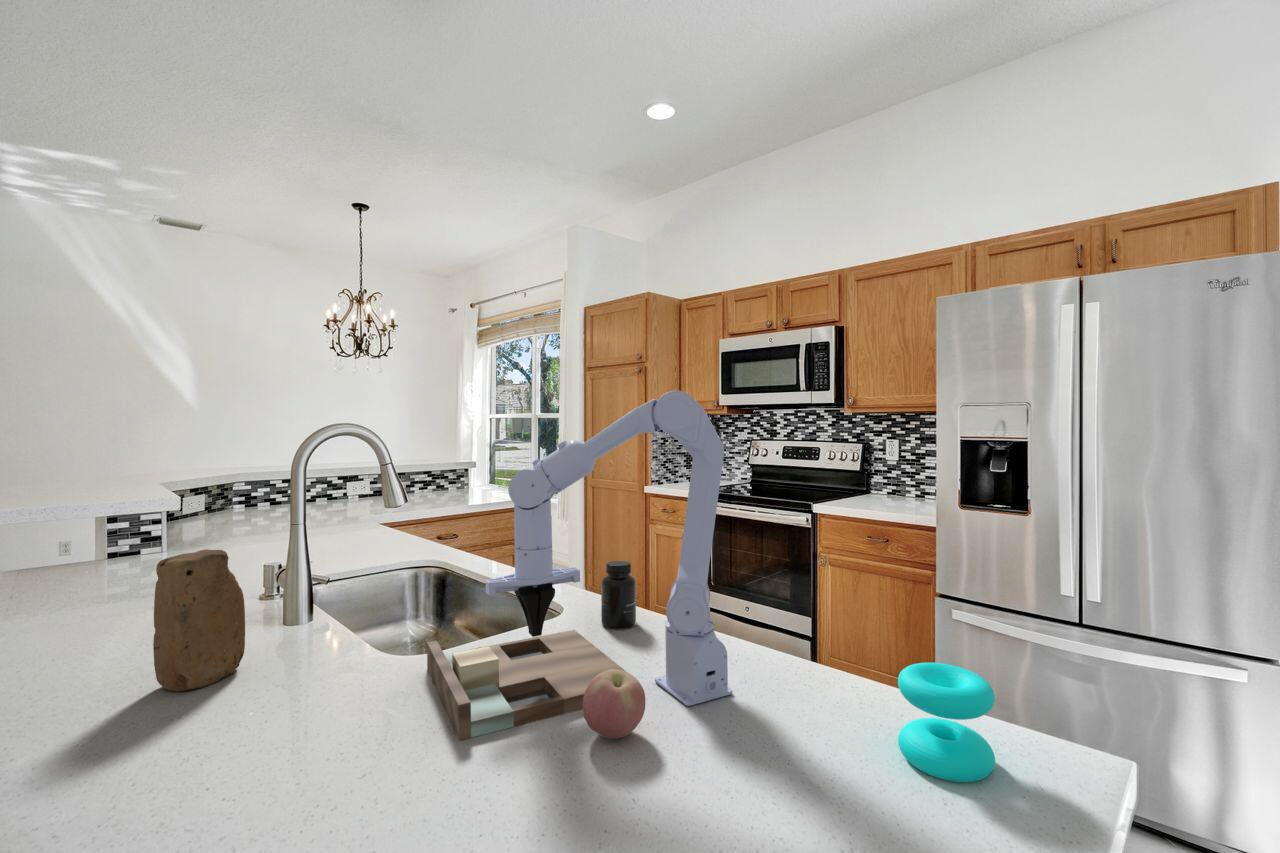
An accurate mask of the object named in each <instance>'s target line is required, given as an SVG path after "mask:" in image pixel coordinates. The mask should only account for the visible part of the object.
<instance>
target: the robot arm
mask: <svg viewBox="0 0 1280 853" xmlns="http://www.w3.org/2000/svg"><path fill="white" fill-rule="evenodd" d="M661 430H662V431H663V432H664V433H665V434H668V435H669V436H670V437H672V438H674V439H676V440H677V441H678V442H679V443H680V445H681V446H682V447H683V448H684V449H685V450H686V452H687V453H688V454H689V455H690V456H691V458H692V463H691V470H690V477H689V478H690V479H689V485H688V493H687V494H688V495H687V501H686V502H687V503H686V508H685V517H684V523H683V524H684V525H683V533H682V539H681V546H680V554H679V561H678V562H679V564H678V569H677V575H676V578H675V580H674V581H673V583H672V585H671V587H670V591H669V599H668V601H667V604H666V607H665V608H666V609H665V615H666V619H667V620H666V621H665V623H664V624H665V629H664V630H665V674H664V675H660V676H657V677H655V678H654V682H655V683H656V684H658V685H659V686H660V687H662V688H663V689H664V690H666V691H667V692H668V693H670V694H671V695H672V696H673V697H675V699H677V700H679V702H681V703H683V704H684V705H685V706H686V707H687V706H688V707H691V706H694V705H698V704H702V703H704V702H708V701H711V700H715V699H719V698H723V697H726V696H729V695H732V694H733V689H731V688H730V687H729V686H728V684H729V683H728V680H729V679H728V668H729V667H728V651H727V648H726V646H725V645H724V643H723V642H722V641H721V640H720V639H719V638H718V637H717V635H716V633H715V627H714V626H715V625H714V621H713V620H712V619H711V608H710V602H711V601H710V600H711V590H710V587H709V584H708V579H709V572H710V571H709V570H710V563H711V562H710V561H711V556H712V555H711V554H712V547H713V539H714V531H715V525H716V516H717V510H718V502H719V494H720V486H721V479H722V473H723V471H722V470H723V463H724V456H725V446H724V444H723V442H722V440H721V438H720V436H719V435H718V432H717V430H716V429H715V427H714V425H713V422H712V421H711V420H710V417H709V415H708V414H707V411H706V410H705V408H704V407H703V406H702V405H701V404H700V403H698V401H697V400H695V398H694V397H693V396H691V395H690V394H689V393H687V392H685V391H682V390H671V391H668V392H666V393H664V394H662V395H661V396H660V397H659V398H658V399H657V398H655V399H654V398H653V399H651V400H649V401H647V402H645V403H643V404H641V405H639V406H637V407H635V408H633V409H632V410H630V411H629V412H627V413H626V414H625V415H623V416H621V417H620V418H619V419H617V420H616V421H614V422H612V423H611V424H610V425H608V426H607V427H605V428H604V429H603V430H601V431H599V432H598V433H596V434H595V435H594V436H592V437H591V438H589V439H588V440H586V441H585V442H584V441H579V440H575V439H572V440H570V441H569V442H568V441H567V440H563V441H561V442H559V443H558V444H557V448H558V449H556V450H555V451H553V452H552V453H550V454H548V455H546V456H545V457H543V458H542V459H540V458H537V459H535V460H533V461H531V464H532V468H524V469H520V470H518V472H516V474H515V475H514V476H512V477H511V479H510V481H509V484H508V495H509V497H510V500H511V502H512V503H513V513H514V514H513V516H514V517H513V526H514V527H513V528H514V534H513V535H514V573H512V574H508V575H504V576H500V577H495V578H490V579H486V580H485V593H486V594H487V595H488V596H489V597H490V596H496V595H497V594H501V593H508V592H514V594H515V597H516V598H517V600H518V602H519V604H520V606H521V608H522V611H523V614H524V616H525V621H526V624H527V629H528V634H529V635H530V636H531V638H534V637H539V636H543V635H542V633H543V629H544V623H545V620H546V616H547V612H548V610H549V608H550V605H551V603H552V602H553V599H554V598H555V596H556V589H555V588H554V586H555V585H560V584H561V585H562V584H566V583H567V584H568V583H580V582H581V569H579V568H577V567H568V568H567V567H566V568H565V567H564V568H553V567H554V565H553V564H554V563H553V528H552V527H553V526H552V524H553V522H552V521H553V519H552V518H553V517H552V507H551V506H552V501H551V499H552V498H553V497H554V495H555V494H558V493H561V492H562V491H564V490H566V489H567V488H568V487H571V486H572V485H574V484H575V483H577V482H578V481H580V480H581V479H583V478H584V477H587V476H588V475H590V474H591V473H592V472H593V471H594V470H595V464H596V460H597V459H599V458H600V457H602V456H604V455H605V454H607V453H609V452H610V451H612V450H614V449H615V448H617V447H619V446H621V445H622V444H624V443H626V442H627V441H629V440H631V439H633V438H634V437H637V435H640V434H648V433H649V434H650V433H657V432H660V431H661ZM553 585H554V586H553Z"/></svg>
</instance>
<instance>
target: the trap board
mask: <svg viewBox="0 0 1280 853" xmlns="http://www.w3.org/2000/svg"><path fill="white" fill-rule="evenodd" d="M484 647H490V648H491V650H492V651H493V652H494V653H495V655H496V656H497V657H498V659H499V683H496V684H492V685H487V686H483V687H478V688H474V689H469V690H465V691H464V689H463V687H462V686H461V684H460V682H459V680H458V678H457V676H456V675H455V673H454V671H453V669H452V653H457V652H463V651H468V650H473V649H479V648H484ZM426 659H427V660H426V663H427V664H426V666H427V672H428V675H429V677H430V679H431V681H432V684H433V685H434V688H435V690H436V693H437V695H438V697H439V699H440V701H441V704H442V706H443V707H444V710H445V713H446V715H447V717H448V720H449V723H450V724H451V726H452V728H453V730H454V732H455V735H456V737H457V740H458V741H460V742H461V741H463V740H467V739H472V738H474V737H475V738H476V737H478V736H483V735H486V734H492V733H494V732H499V731H502V730H506V729H510V728H515V727H518V726H522V725H526V724H529V723H530V724H531V723H533V722H534V723H535V722H536V721H542V720H545V719H549V718H553V717H555V716H556V717H557V716H561V715H564V714H568V713H572V712H576V711H579V710H583V697H584V693H585V691H586V688H587V686H588V685H589V683H590V682H591V681H592V679H593V678H595V677H596V676H597V675H598V674H600V673H602V672H604V671H606V670H610V669H618V670H623V671H626V670H625V669H624V668H623V667H621V665H619V664H618V663H616V662H615V661H614V660H613V659H612V658H611V657H609V656H608V655H607V654H605V653H604V652H603V651H601V650H600V649H599V648H597V647H596V646H595V645H594V644H593V643H592V642H591V641H589V640H588V639H587V638H585V636H583V635H581V633H579V632H578V631H576V630H575V629H572V630H567V631H561V632H555V633H551V634H544V635H540V636H535V637H530V638H523V639H519V640H513V641H508V642H502V643H498V644H491V645H486V646H482V647H476V648H470V649H465V650H460V651H455V652H449V653H444V652H443V650H442V648H441V646H440V644H439V642H438V640H432V641H427V642H426Z"/></svg>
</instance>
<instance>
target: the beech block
mask: <svg viewBox="0 0 1280 853" xmlns="http://www.w3.org/2000/svg"><path fill="white" fill-rule="evenodd" d="M483 647H484V648H481V647H478V648H479V649H475V648H472V649H473V650H470V649H467V650H468V651H465V650H462V651H463V652H459V651H456V652H457V653H454V652H451V653H452V669H453V671H454V673H455V675H456V676H457V678H458V680H459V682H460V684H461V686H462V687H463V689H464V691H465V690H469V689H474V688H478V687H483V686H487V685H492V684H496V683H499V659H498V657H497V656H496V655H495V653H494V652H493V651H492V650H491V648H490V647H486V646H483Z"/></svg>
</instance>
